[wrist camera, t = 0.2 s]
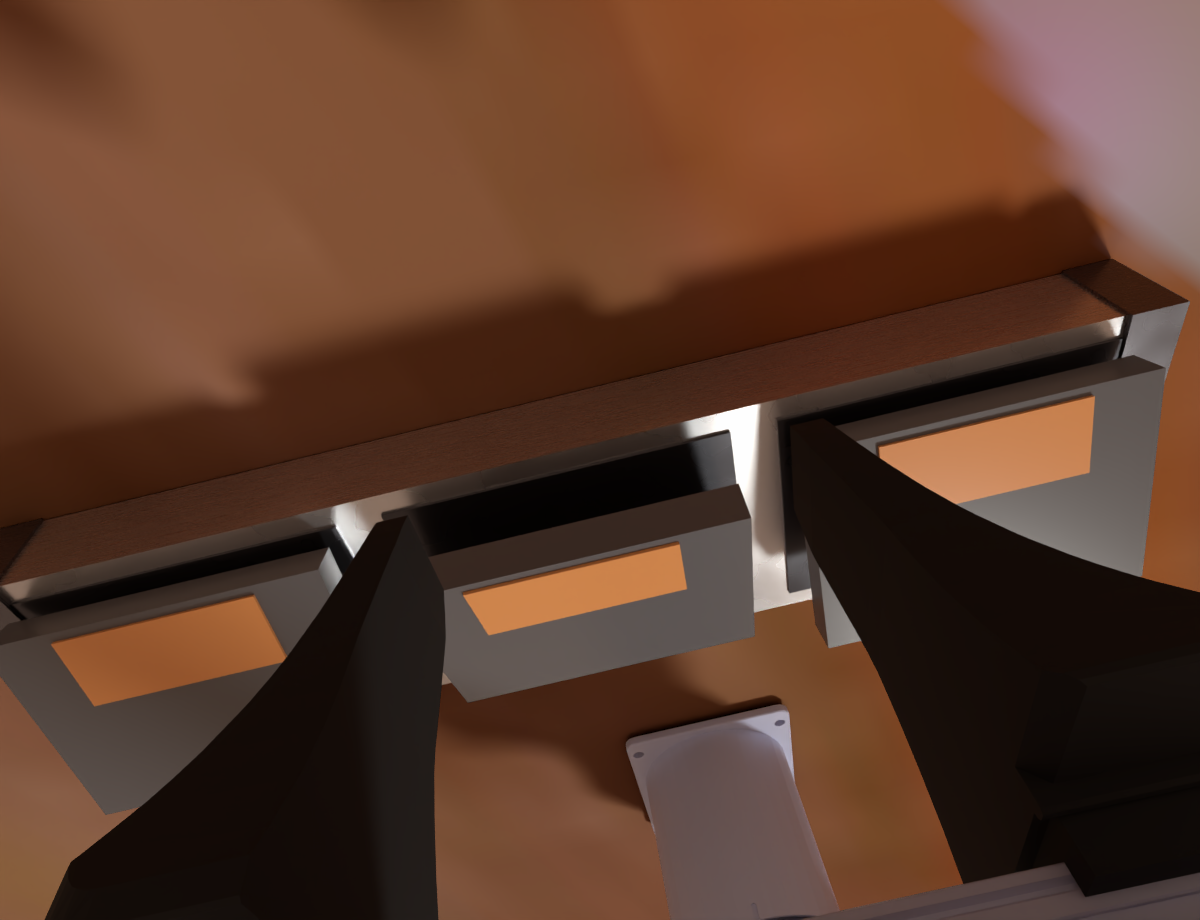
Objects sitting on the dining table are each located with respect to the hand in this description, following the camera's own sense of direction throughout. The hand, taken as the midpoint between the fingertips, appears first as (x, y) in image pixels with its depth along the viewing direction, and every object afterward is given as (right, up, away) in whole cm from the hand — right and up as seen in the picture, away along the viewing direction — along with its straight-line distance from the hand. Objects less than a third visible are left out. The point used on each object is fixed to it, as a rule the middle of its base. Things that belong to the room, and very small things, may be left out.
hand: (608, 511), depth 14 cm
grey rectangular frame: (+11, 0, +9) cm, 14 cm away
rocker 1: (-12, -6, +10) cm, 17 cm away
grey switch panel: (-1, -1, +13) cm, 13 cm away
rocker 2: (-1, -3, +9) cm, 10 cm away
